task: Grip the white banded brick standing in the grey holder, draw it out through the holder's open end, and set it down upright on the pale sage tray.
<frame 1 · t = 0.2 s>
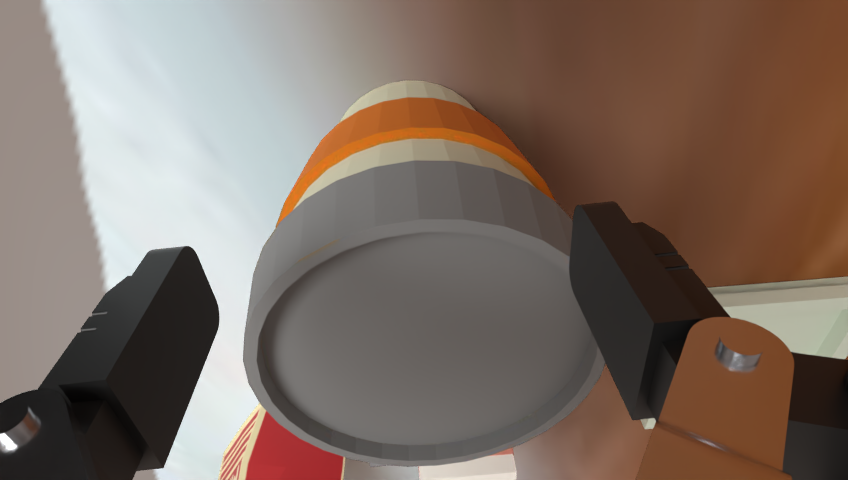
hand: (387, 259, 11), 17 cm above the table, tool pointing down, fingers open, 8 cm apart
reusable coffee cup: (411, 156, 29), on the table
tray: (739, 348, 41), on the table
white banded brick: (453, 378, 40), point 1 cm above the table, touching grey holder
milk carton: (293, 435, 44), on the table
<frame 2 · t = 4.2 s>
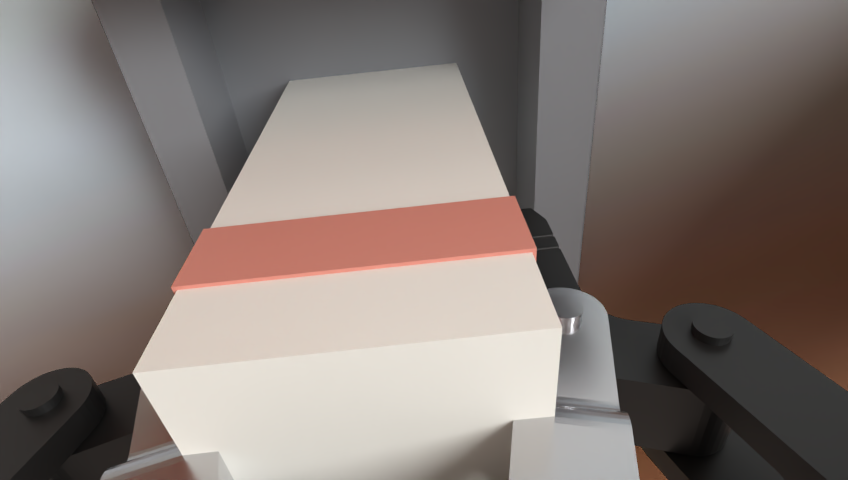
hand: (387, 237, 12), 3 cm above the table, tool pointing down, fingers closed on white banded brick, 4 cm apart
grey holder: (383, 140, 14), on the table
white banded brick: (389, 183, 14), point 1 cm above the table, touching grey holder, gripper
when the fingers open (5 cm above the table, at t = 12.7 s): white banded brick drops 2 cm, resting on tray.
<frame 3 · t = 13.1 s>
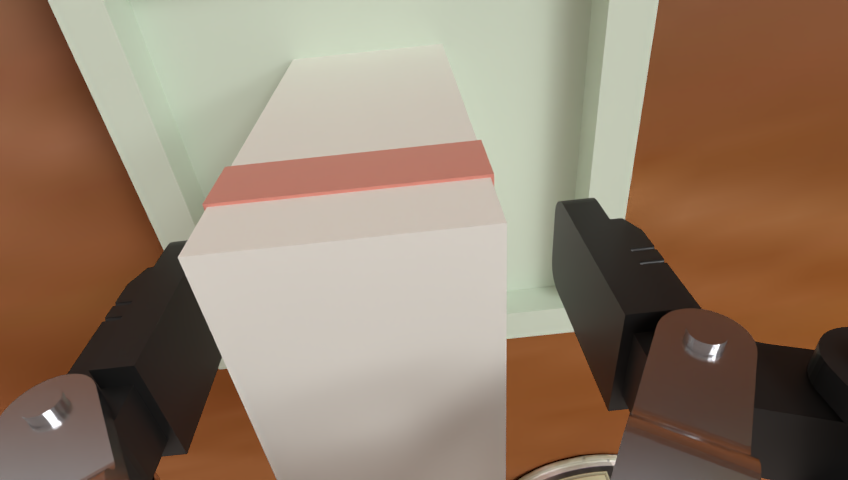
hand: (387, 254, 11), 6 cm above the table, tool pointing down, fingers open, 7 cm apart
tray: (387, 144, 16), on the table
white banded brick: (382, 154, 15), point 1 cm above the table, touching tray
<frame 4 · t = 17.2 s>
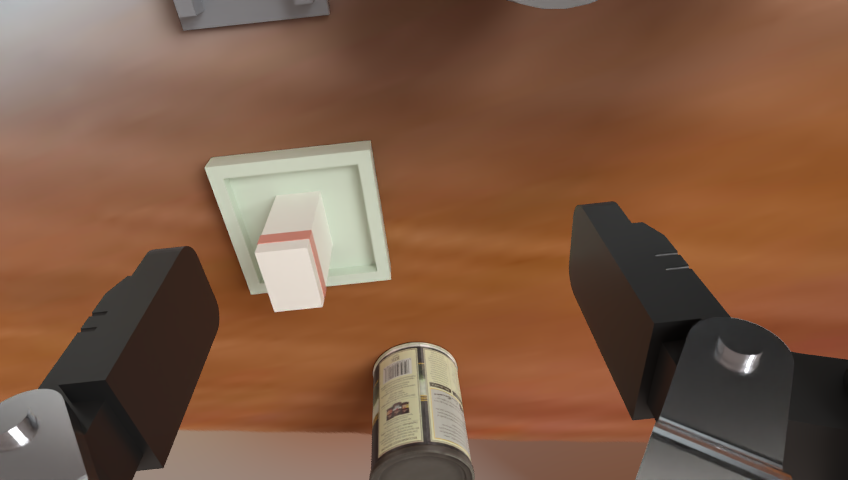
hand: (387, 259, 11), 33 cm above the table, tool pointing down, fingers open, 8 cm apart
tray: (308, 216, 48), on the table
coffee can: (415, 370, 62), on the table
white banded brick: (305, 221, 48), point 1 cm above the table, touching tray
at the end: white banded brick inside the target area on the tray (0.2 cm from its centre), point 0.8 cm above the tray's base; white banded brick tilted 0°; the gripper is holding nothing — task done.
